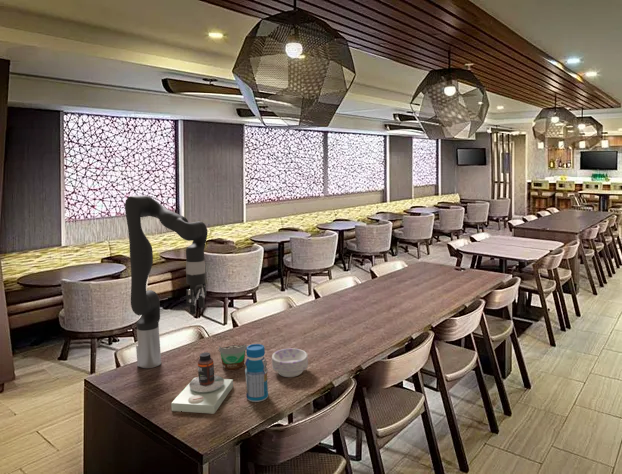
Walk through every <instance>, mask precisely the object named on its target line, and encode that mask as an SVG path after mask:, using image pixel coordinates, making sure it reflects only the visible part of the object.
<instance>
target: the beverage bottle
mask: <svg viewBox="0 0 622 474" xmlns="http://www.w3.org/2000/svg"><path fill="white" fill-rule="evenodd" d="M246 346H247V349H246V350H245V354H246V357H247V358H246V360H245V362H244V367H245V369H244V373H245V389H246V392H245V393H246V395H245V396H246V400H247V401H249V402H251V403H252V402H253V403H260V402H264V401H265V400H266V399H268V397H269V391H268V388H269V387H268V373H269V372H268V369H269V368H268V367H267V365H268V362H267V360H266V358H265V353H266V352H265V351H266V349H265V348H266V347H265V345H263V344H260V343H254V344H253V343H252V344H249V345H246Z"/></svg>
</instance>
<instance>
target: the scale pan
mask: <svg viewBox="0 0 622 474" xmlns="http://www.w3.org/2000/svg"><path fill="white" fill-rule="evenodd" d="M214 377H215V380H214V382H213V383H212V384H209V385H202V384H200V383H199V376H197V377H196V378H195V377H194V378H195V379H194V378H193V379H192V380H191V381H190V382H189V383H190V384H189V383H188V384H189V385H190V389H191V390H192V391H194V392H198V393H207V392H212V391H216V390H218V389H220V388H221V387H222V386H223V385H224V379H225V378H223V377H221V376H219V375H215V374H214Z"/></svg>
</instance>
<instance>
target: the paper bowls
mask: <svg viewBox="0 0 622 474" xmlns="http://www.w3.org/2000/svg"><path fill="white" fill-rule="evenodd" d="M308 357H309V355H308V352H306V351H305V350H303V349H300V348H294V347H293V348H290V347H289V348H282V349H280V350H276V351H275V352H273V353H272V355H271V368H272V370H273V371H275V372H277V374H279V376H281V377H285V378H294V377H297V376H299V375H301V374H302V373H303V371H305V370H306V369H307V368H308V366H309V358H308Z"/></svg>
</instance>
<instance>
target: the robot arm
mask: <svg viewBox="0 0 622 474" xmlns="http://www.w3.org/2000/svg"><path fill="white" fill-rule="evenodd" d="M124 211H125V212H124V213H125V219H126V225H127V232H128V239H129V240H128V241H129V242H128V243H129V259H130V260H129V263H130V274H131V275H130V276H131V277H130V279H131V280H130V281H131V282H130V285H131V286H130V307H131V309H132V311H133V313H134V314H135V315H137V316H140V318H138V321H137V322H136V334H137V335H136V337H137V344H136V346H135V350H136V352H135V353H136V360H137V361H136V362H137V367H140V368H142V369H152V368H155V367H156V368H157V367H158V366H161V364H162V355H161V353H162V352H161V341H160V325H159V322H160V319H161V307H160V306H161V303H160V302H161V301H160V298H159V295H158V293H156V291H155V290H152V289H150V290H149V289H148V290H147V281H148V278H149V276H150V273H151V270H152V268H153V264H154V256H153V255H154V254H153V247H152V244H151V242H150V240H149V239H148V237H147V236H146V235H145V233H144V231H143V229H142V223H141V221H142V220H141V218H146V217H152V218H156V219H158V220H159V223H161V225H162V226H164V227H165V228H166V229H168V230H171V231H173V232H174V233H176V234H177V235H178V236H179V237H180V238H181V239H182V240H184V241H189V242H191V241H192V243H190V245H189V246H187V247H186V249H185V257H186V258H185V259H186V261H185V262H186V264H185V272H186V273H185V275H186V277H185V278H186V284H187V285H189V289H186V290H185V291H186V292H185V295H186V299H185V301H186V305H187V306H189V314H190V315H196V313H197V307H196V304H197V300H198V308H200V309H203V308H205V298H206V296H207V294H208V293H207V283H206V282H207V281H206V278H207V276H206V263H205V262H206V261H205V247H206V243H207V239H208V227H207V225H206V224H205V223H204V222H203V221H198V220H197V221H194V222H193V221H192V222H189V221H188V219H187V218H186V217H185V216H184V215H181V214H179V213H177V212H174V211H172V210H171V209H169V208H167V207H165V206H164V205H162V204H161V203H159V202H158V201H157V200H155V199H154V198H152V197H151V196H149V195H146V194H145V195H143V194H142V195H131V196H127V198H126V199H125V204H124Z"/></svg>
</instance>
